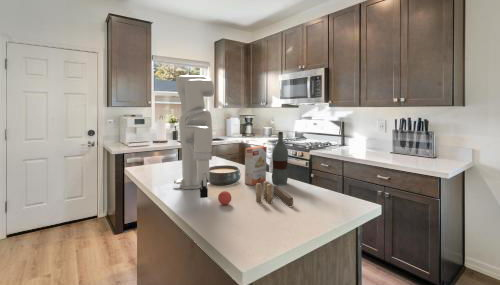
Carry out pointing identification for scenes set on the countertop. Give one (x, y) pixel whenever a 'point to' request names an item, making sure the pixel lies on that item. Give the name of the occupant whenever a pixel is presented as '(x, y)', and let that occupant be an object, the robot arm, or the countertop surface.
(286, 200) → the dark wooden bar
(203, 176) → the robot arm
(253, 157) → the cracker box
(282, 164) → the bottle
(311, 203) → the countertop surface
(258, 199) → the front pin
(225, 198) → the ball
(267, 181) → the pin
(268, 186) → the pin
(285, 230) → the countertop surface
